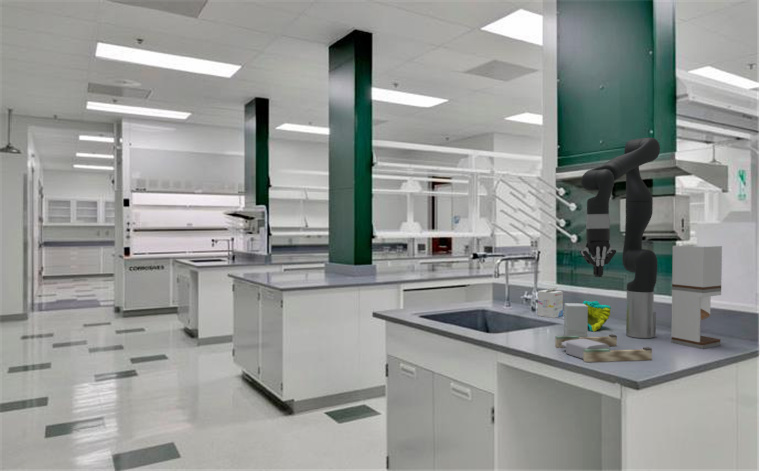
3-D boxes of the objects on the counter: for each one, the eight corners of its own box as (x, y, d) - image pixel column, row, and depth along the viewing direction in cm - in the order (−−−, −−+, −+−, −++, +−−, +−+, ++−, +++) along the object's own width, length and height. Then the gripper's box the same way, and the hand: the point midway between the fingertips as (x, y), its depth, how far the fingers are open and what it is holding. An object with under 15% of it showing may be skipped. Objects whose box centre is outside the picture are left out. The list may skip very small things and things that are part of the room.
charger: (573, 348, 174) (608, 358, 160) (552, 350, 170) (586, 361, 156) (573, 334, 174) (608, 343, 160) (552, 336, 170) (587, 346, 156)
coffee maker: (702, 348, 172) (703, 246, 171) (671, 342, 181) (672, 245, 180) (720, 345, 177) (721, 246, 177) (689, 339, 187) (691, 245, 186)
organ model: (603, 316, 195) (573, 298, 203) (592, 340, 200) (562, 321, 208) (619, 305, 205) (590, 288, 212) (607, 328, 210) (579, 310, 218)
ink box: (546, 313, 240) (546, 285, 240) (563, 315, 234) (563, 287, 234) (537, 315, 235) (537, 287, 234) (553, 318, 228) (554, 288, 228)
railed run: (614, 344, 177) (614, 334, 177) (651, 359, 158) (651, 348, 157) (555, 346, 175) (555, 336, 174) (585, 362, 155) (586, 350, 155)
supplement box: (587, 340, 184) (588, 306, 184) (566, 339, 185) (566, 305, 185) (583, 336, 191) (584, 303, 191) (563, 335, 193) (563, 302, 192)
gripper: (608, 226, 180) (608, 275, 180) (574, 227, 178) (574, 276, 178) (621, 227, 172) (622, 277, 173) (586, 227, 170) (586, 278, 171)
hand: (598, 276), depth 176 cm, fingers closed
